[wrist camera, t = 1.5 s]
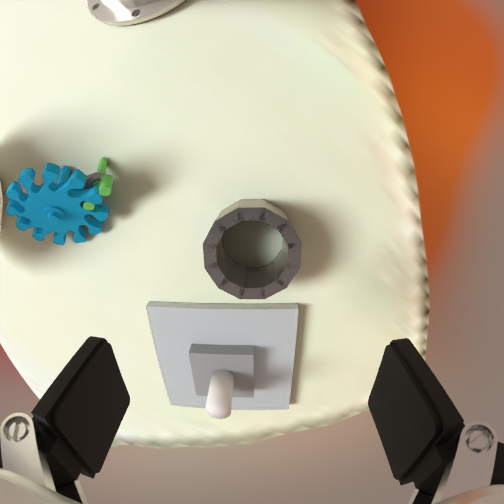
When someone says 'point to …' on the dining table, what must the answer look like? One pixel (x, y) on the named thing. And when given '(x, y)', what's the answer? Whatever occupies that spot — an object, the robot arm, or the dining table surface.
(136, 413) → the dining table surface
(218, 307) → the shaft stand
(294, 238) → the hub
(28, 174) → the gear
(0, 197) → the geometric sphere
